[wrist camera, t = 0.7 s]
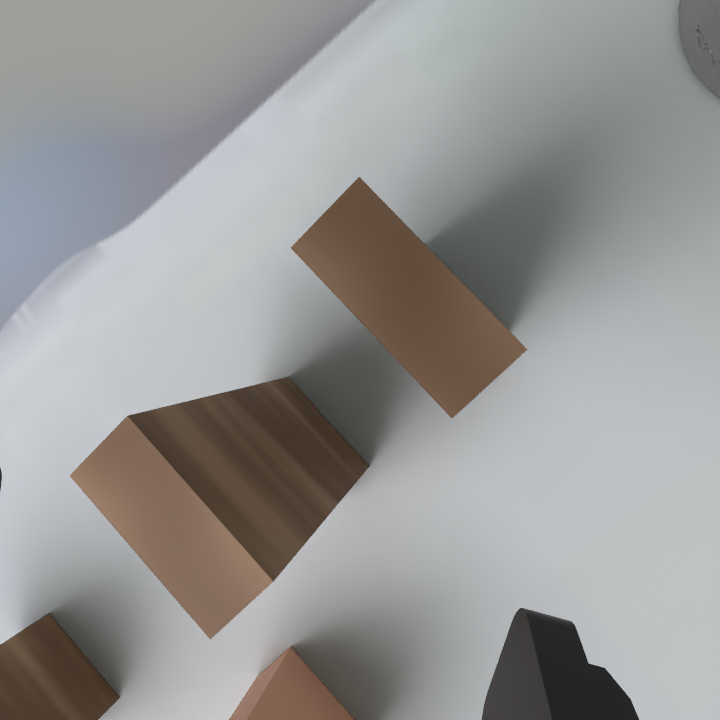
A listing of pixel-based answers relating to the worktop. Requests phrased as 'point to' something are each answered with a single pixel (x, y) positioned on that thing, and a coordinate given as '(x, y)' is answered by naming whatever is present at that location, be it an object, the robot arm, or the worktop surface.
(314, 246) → the near walnut tile
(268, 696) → the terracotta tile
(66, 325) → the worktop surface
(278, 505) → the middle walnut tile
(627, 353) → the worktop surface
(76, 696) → the wood grain beam
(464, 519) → the worktop surface
